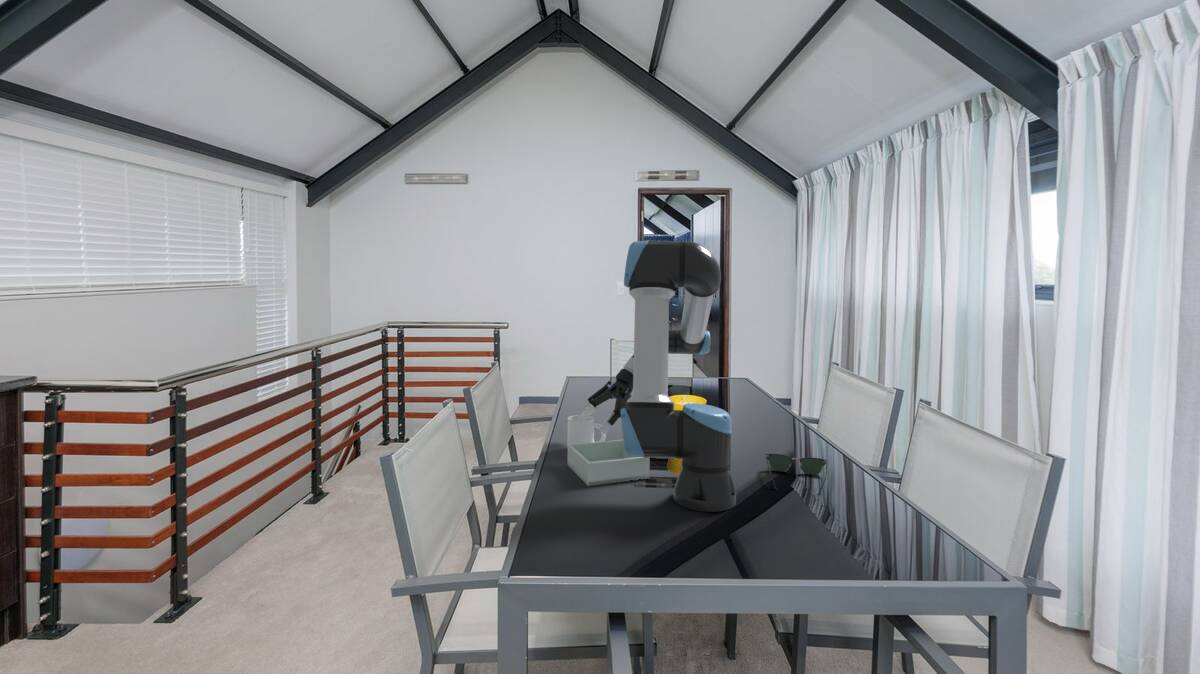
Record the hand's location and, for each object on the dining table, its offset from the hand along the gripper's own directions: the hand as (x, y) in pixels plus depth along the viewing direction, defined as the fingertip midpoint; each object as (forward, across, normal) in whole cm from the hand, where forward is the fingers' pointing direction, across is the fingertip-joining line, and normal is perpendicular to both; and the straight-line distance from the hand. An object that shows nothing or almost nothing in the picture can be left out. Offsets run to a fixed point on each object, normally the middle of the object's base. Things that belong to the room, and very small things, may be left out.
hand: (590, 426), depth 184 cm
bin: (+10, -20, -1) cm, 23 cm away
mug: (+7, -1, -4) cm, 8 cm away
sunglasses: (-19, -51, -30) cm, 62 cm away
